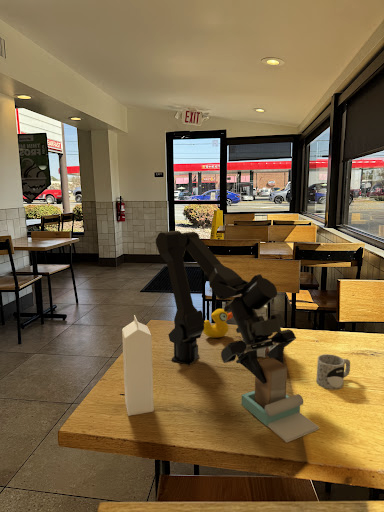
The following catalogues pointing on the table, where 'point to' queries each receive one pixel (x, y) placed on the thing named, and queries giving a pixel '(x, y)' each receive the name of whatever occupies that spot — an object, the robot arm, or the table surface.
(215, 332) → the duckling
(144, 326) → the milk
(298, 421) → the teal rectangular frame
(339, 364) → the mug
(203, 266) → the robot arm
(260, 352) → the candy bar box
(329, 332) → the table surface
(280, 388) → the brown block
